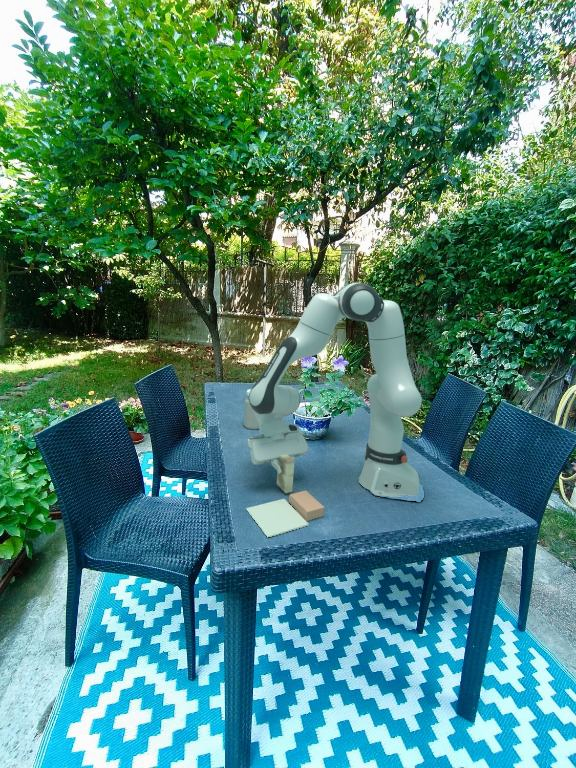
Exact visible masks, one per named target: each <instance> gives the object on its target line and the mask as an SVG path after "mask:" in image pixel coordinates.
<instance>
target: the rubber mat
mask: <svg viewBox="0 0 576 768" xmlns="http://www.w3.org/2000/svg"><path fill="white" fill-rule="evenodd" d="M245 510H247V511H248V512H249V514H250V515H251V516H252V518H253V519H254V520H255V522H256V523H257V524H258V526H259V527H260V528H261V529H262V531H263V532H264V534H265V535H266V536H267V538H268V537H272V536H275V537H277V536H276V535H278V536H280V535H279V534H281V535H284V534H286V532H288V533H290V532H289V531H291V532H293V531H292V530H294V531H297V530H300V529H303V527H304V528H307V527H309V526H310V525H309V524H310V523H309V522H308V521H306V520H305V519H304V518H303V517H302V516H301V515H300V514H299V513H298V512H297V511H296V510H295V509H294V508H293V507H292V506H291V505H290V504H289V501H287V500H286V499H285V498H282V499H278V500H274V501H269V502H266V503H262V504H261V503H260V504H258V505H254V506H250V507H246V508H245ZM247 511H246V512H247ZM248 512H247V513H248ZM249 514H248V515H249ZM250 515H249V516H250ZM251 516H250V517H251ZM252 518H251V519H252ZM253 519H252V520H253ZM254 520H253V521H254ZM255 522H254V523H255ZM256 523H255V524H256ZM257 524H256V525H257ZM258 526H257V527H258ZM306 526H307V527H306ZM259 527H258V528H259ZM260 528H259V529H260ZM299 528H300V529H299ZM296 529H297V530H296ZM262 531H261V532H262ZM263 532H262V533H263ZM283 533H284V534H283ZM264 534H263V535H264ZM265 535H264V536H265ZM266 536H265V537H266ZM267 538H266V539H267ZM272 538H273V537H272ZM268 539H269V538H268Z"/></svg>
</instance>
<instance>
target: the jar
mask: <svg viewBox="0 0 576 768" xmlns="http://www.w3.org/2000/svg"><path fill="white" fill-rule="evenodd" d="M251 389H252V388H249V389H247V390H246V398H244V412H243V413H244V414H243V426H244V428H246V429H247V430H254V431H255V430H256V431H257V430H259V423H258V420H257V419H256V417H255V413H254V410H253V409H252V407H251V405H250V403H249V393H250V391H251Z"/></svg>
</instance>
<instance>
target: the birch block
mask: <svg viewBox="0 0 576 768" xmlns="http://www.w3.org/2000/svg"><path fill="white" fill-rule="evenodd" d="M280 456H281V457H280V458H278V462H277V464H278V465H279V466H280V467H283V470H284V472H283V473H281V474H278V472H276V485H277V486H278V487H279V488H280V489H281V490H282V491H283V492H284V493H285V494H288V493H292V492H293V486H294V485H293V484H294V472H295V462H296V460H295V458H294V459H292V458H291V457H290V456H289V455H287V454H285V455H280Z"/></svg>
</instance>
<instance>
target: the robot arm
mask: <svg viewBox="0 0 576 768" xmlns="http://www.w3.org/2000/svg"><path fill="white" fill-rule="evenodd" d="M344 318H347V319H350V320H354V321H359V322H365V324H366V326H367V330H368V331H367V332H368V342H369V343H368V344H369V351H370V359H371V363H372V366H373V369H374V370H375V374H373V375H371V376H370V378H369V379H368V381H367V383H366V390H367V393H368V396H369V412H370V414H369V416H370V426H369V427H370V428H369V435H368V442H367V444H366V446H365V452H364V464H363V465H362V466H363V468H362V469H361V473H360V475H359V477H358V479H359V481H358V483H360V484H361V485H362V486H363V487H365V488H367V489H369V490H370V491H371V492H372V493H373V494H374V495H378V496H389V497H401V496H402V495H403V496H404V495H408V496H417V495H418V493H419V482H420V477H419V474H418V471H417V470H416V469H415V468H414V467H413V466H411V465H410V463H408V461H409V460H408V459H409V458H408V456H407V453H406V450H405V449H402V446H403V445H402V444H403V438H404V433H405V431H404V428H405V427H404V424H403V421H402V418H408V417H412V416H414V415H415V414H416V413H417V412H418V411H419V410H420V409H421V407H422V396H421V393H420V392H419V390H418V388H417V386H416V383H415V380H414V377H413V373H412V371H411V368H410V364H409V360H408V356H407V345H406V335H405V325H404V320H403V315H402V312H401V308H400V306H399V304H398V303H397V302H396V301H392V300H388V299H382V298H381V296H380V295H379V293H378V292H377V291H376V290H375V288H374V287H373V286H371V285H370V284H368V283H364V282H352V283H349V284H347V285H345V286H343V287H342V288H340V289H339V290H338V291H336V292H335V293H334V294H333V295H332V294H330V293H325V292H321V293H316V294H315V295H314V296H313V297H312V298H311V300H310V301H309V302H308V304H307V306H306V307H305V310H304V311H303V313H302V315H301V317H300V319H299V321H298V324H297V326H296V327H295V329H294V330H293V331H292V333H290V335H289V336H288V337H286V338H285V339H283V340H282V341H281V343H280V344H279V346H278V347H277V348H276V350H275V352H274V354H273V355H272V357H271V359H270V360H269V362H268V364H267V366H266V368H265V369H264V371H263V373H261V376H260V377H259V379H258V380H257V381H256V382H255V384H254V385H253V386H252V388H250V389H251V391H250V393H249V403H250V405H251V407H252V409H253V410H254V413H255V417H256V419H257V420H258V423H259V429H258V430H259V433H260V434H258V435H254V436H253V435H252V436H250V437H249V438H248V439H247V441H246V443H247V446H248V447H247V448H248V449H249V453H250V454H249V455H250V459H251V463H252V464H253V465H254V466H257V465H262V464H267V463H271V466H272V467H273V468H274V469H275V470H276V471H277V472H278V474H281V473H283V472H284V470H283V467H280V466H279V465H278V458H280V457H281V456H280V455H285V454H287V455H289V456H290V457H291V458H292V459H294V460H295V458H297V457H303V456H306V454H307V453H308V452H309V446H308V444H307V441H306V438H305V437H304V435H303V433H301V432H300V431H301V429H300V426H299V425H298V424H291V423H287V422H285V421H284V418H285V417H286V416H289V415H291V414H294V413H296V411H297V410H298V409H299V407H300V404H301V395H300V393H299V391H298V389H297V388H296V387H293V386H290V385H284V384H280V382H281V381H282V380H283V377H284V375H285V374H286V372H287V370H288V369H289V367H290V366H291V365H292V364H293V363H295V362H296V361H298V360H301V359H304V358H308V357H309V358H310V357H313V356H316V355H318V354H321V352H322V351H323V350H325V348H326V347H327V345H328V343H329V341H330V339H331V337H332V335H333V333H334V330H335V327H336V326H337V325H338V323H339V322H340V321H341V320H343V319H344ZM277 472H276V473H277ZM360 484H359V485H360ZM361 485H360V486H361ZM362 486H361V487H362ZM363 487H362V488H363ZM365 488H364V489H365ZM379 493H381V494H379ZM398 495H399V496H398ZM400 495H401V496H400ZM403 496H402V497H403ZM406 497H407V496H406Z"/></svg>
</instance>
